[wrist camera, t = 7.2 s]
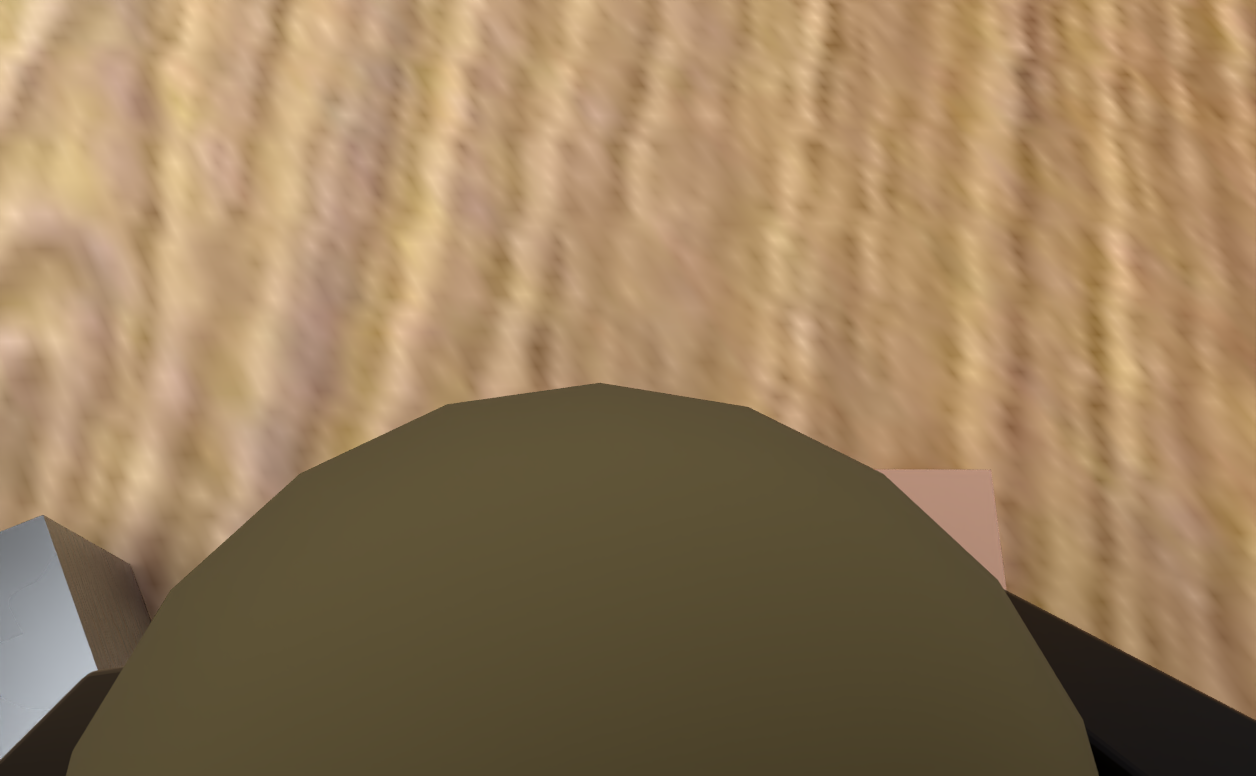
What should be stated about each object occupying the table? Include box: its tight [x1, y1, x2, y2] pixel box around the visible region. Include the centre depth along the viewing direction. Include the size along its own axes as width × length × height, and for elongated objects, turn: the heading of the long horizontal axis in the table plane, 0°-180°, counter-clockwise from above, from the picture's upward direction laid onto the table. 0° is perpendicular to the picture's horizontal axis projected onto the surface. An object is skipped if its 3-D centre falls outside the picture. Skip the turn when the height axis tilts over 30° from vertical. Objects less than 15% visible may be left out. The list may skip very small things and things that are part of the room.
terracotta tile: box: [874, 469, 1006, 590], centre depth 21 cm, size 11×11×1 cm
